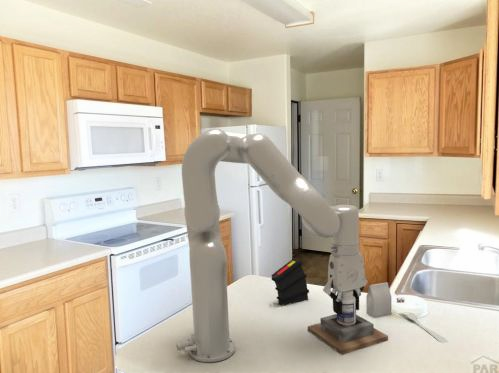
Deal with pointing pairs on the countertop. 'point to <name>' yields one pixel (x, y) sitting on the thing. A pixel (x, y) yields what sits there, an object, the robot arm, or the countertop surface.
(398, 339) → the countertop surface
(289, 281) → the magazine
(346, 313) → the pill bottle
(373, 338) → the mount
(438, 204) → the countertop surface
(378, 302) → the grey upright pouch
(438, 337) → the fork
